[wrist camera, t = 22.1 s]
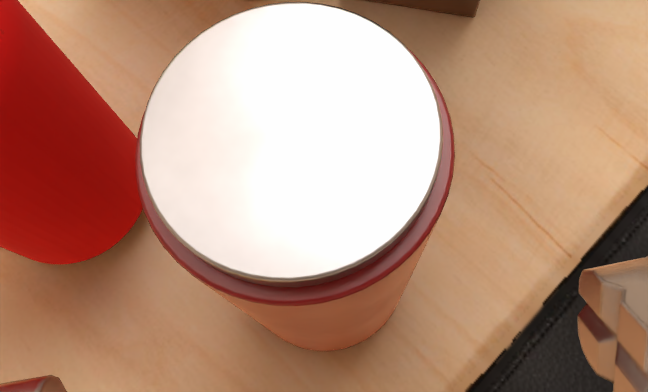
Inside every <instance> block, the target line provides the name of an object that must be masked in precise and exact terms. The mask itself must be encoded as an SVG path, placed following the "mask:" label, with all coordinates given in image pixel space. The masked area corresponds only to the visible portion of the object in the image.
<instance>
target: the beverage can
mask: <svg viewBox="0 0 648 392" xmlns="http://www.w3.org/2000/svg"><path fill="white" fill-rule="evenodd" d="M136 145H137V138H136V137H135V135H134V134H133V133H132V132H131V131H130V129H129V128H128V127H127V126H126V125H125V124H124V123H123V121H122V120H121V119H120V118H119V117H118V116H117V114H116V113H115V112H114V111H113V110H112V109H111V108H110V106H109V105H108V104H107V103H106V102H105V101H104V99H103V98H102V97H101V96H100V95H99V94H98V93H97V91H96V90H95V89H94V88H93V87H92V86H91V84H90V83H89V82H88V81H87V80H86V79H85V78H84V76H83V75H82V74H81V73H80V72H79V71H78V69H77V68H76V67H75V66H74V65H73V64H72V62H71V61H70V60H69V59H68V58H67V57H66V56H65V54H64V53H63V52H62V51H61V50H60V49H59V47H58V46H57V45H56V44H55V43H54V42H53V41H52V39H51V38H50V37H49V36H48V35H47V34H46V32H45V31H44V30H43V29H42V28H41V27H40V26H39V24H38V23H37V22H36V21H35V20H34V19H33V17H32V16H31V15H30V14H29V13H28V12H27V11H26V9H25V8H24V7H23V6H22V5H21V4H20V2H19V1H18V0H0V247H2V248H5V249H7V250H9V251H12V252H14V253H17V254H19V255H22V256H24V257H27V258H29V259H32V260H34V261H38V262H42V263H48V264H71V263H77V262H81V261H85V260H88V259H90V258H93V257H96V256H97V255H99V254H101V253H103V252H105V251H107V250H108V249H110V248H111V247H113V246H114V245H115V244H116V243H118V242H119V241H120V240H121V239H122V238H123V237H124V236H125V235H126V234H127V233H128V232H129V230H130V229H131V228H132V227H133V225H134V224H135V222H136V221H137V219H138V217H139V216H140V214H141V211H142V209H143V207H142V204H141V200H140V197H139V194H138V188H137V181H136V174H135V153H136Z"/></svg>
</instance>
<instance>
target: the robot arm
mask: <svg viewBox="0 0 648 392" xmlns="http://www.w3.org/2000/svg"><path fill="white" fill-rule="evenodd" d="M579 293H580V295H581V296H582V297H583V298H584V299H585V301H586V302H587V304H586V305H585V307H584V308H583V309H582V311H581V312H580V313H579V315H578V334H579V338H580V342H581V346H582V350H583V352H584V354H585V356H586V358H587V360H588V362H589V364H590V365H591V367H592V368H593V370H594V371H595V373H596V374H597V375H598V376H600V377H602V378H604V379H606V380H608V381H610V382H612V383H614V387H613V392H648V256H647V257H646V258H640V259H635V260H630V261H625V262H620V263H615V264H610V265H606V266H601V267H596V268H591V269H586V270H583V271H582V273H581V276H580V278H579ZM0 392H67V391H66V389H65V388H64V386H63V384H62V382H61V380H60V379H59V378H58V377H55V376H52V375H48V376H42V377H36V378H31V379H25V380H19V381H14V382H8V383H2V384H0Z"/></svg>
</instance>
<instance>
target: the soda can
mask: <svg viewBox="0 0 648 392" xmlns="http://www.w3.org/2000/svg"><path fill="white" fill-rule="evenodd" d="M454 160H455V147H454V133H453V128H452V123H451V118H450V115H449V112H448V109H447V106H446V103H445V100H444V98H443V96H442V94H441V92H440V90H439V88H438V86H437V84H436V82H435V80H434V79H433V78H432V76H431V75H430V73H429V72H428V70H427V69H426V67H425V66H424V65H423V64H422V63H421V61H420V60H419V59H418V58H417V57H416V56H415V55H414V54H413V53H412V52H411V51H410V50H409V49H408V48H407V47H406V46H405V45H404V44H403V43H402V42H401V41H399V40H398V39H397V38H396V37H395V36H394V35H392V34H391V33H390V32H389V31H387V30H386V29H384V28H383V27H381V26H380V25H378V24H377V23H375V22H373V21H371V20H369V19H367V18H365V17H363V16H361V15H359V14H357V13H354V12H351V11H348V10H345V9H342V8H339V7H334V6H330V5H325V4H318V3H308V2H285V3H277V4H268V5H264V6H260V7H255V8H251V9H248V10H245V11H242V12H240V13H237V14H234V15H232V16H230V17H228V18H226V19H223V20H221V21H219V22H217V23H216V24H214V25H212V26H211V27H209V28H208V29H206V30H205V31H203V32H201V33H200V34H199V35H198V36H196V37H195V38H194V39H193V40H191V41H190V42H189V43H188V44H187V45H186V46H185V47H184V48H183V49H182V50H181V51H180V52H179V53H178V54H177V55H176V56H175V57H174V58H173V59H172V61H171V62H170V63H169V65H168V66H167V67H166V69H165V70H164V71H163V73H162V75H161V76H160V78H159V80H158V81H157V83H156V85H155V87H154V89H153V91H152V93H151V96H150V98H149V100H148V103H147V106H146V110H145V112H144V115H143V118H142V121H141V125H140V129H139V132H138V138H137V145H136V153H135V174H136V181H137V188H138V194H139V197H140V200H141V204H142V207H143V210H144V213H145V215H146V217H147V219H148V222H149V224H150V226H151V228H152V230H153V232H154V233H155V235H156V236H157V238H158V239H159V241H160V242H161V244H162V245H163V247H164V248H165V249H166V250H167V251H168V252H169V254H170V255H171V256H172V257H173V258H174V259H175V260H176V262H177V263H179V264H180V265H181V266H182V267H183V268H185V269H186V270H187V271H188V272H189V273H190V274H192V275H193V276H194V277H196V278H197V279H198V280H200V281H201V282H203V283H204V284H205V285H207V286H208V287H210V288H211V289H212V290H214V291H215V292H217V293H218V294H219V295H221V296H222V297H224V298H225V299H226V300H228V301H229V302H231V303H232V304H233V305H235V306H236V307H238V308H239V309H240V310H242V311H243V312H245V313H246V314H247V315H249V316H250V317H252V318H253V319H254V320H256V321H257V322H259V323H260V324H261V325H263V326H264V327H266V328H267V329H268V330H270V331H271V332H273V333H274V334H275V335H277V336H278V337H280V338H281V339H283V340H285V341H286V342H288V343H291V344H293V345H295V346H298V347H301V348H304V349H309V350H315V351H332V350H340V349H344V348H348V347H351V346H353V345H356V344H358V343H360V342H362V341H364V340H366V339H367V338H369V337H370V336H372V335H373V334H374V333H376V332H377V331H378V330H379V329H380V328H381V327H382V326H383V325H384V324H385V323H386V322H387V320H388V319H389V318H390V316H391V315H392V313H393V311H394V310H395V308H396V306H397V304H398V302H399V300H400V298H401V296H402V294H403V292H404V290H405V287H406V285H407V283H408V281H409V279H410V277H411V275H412V273H413V271H414V269H415V267H416V265H417V262H418V260H419V258H420V256H421V254H422V252H423V250H424V248H425V246H426V244H427V242H428V239H429V237H430V235H431V233H432V231H433V229H434V227H435V225H436V223H437V221H438V219H439V217H440V214H441V212H442V209H443V207H444V204H445V202H446V199H447V197H448V194H449V190H450V186H451V182H452V177H453V170H454Z"/></svg>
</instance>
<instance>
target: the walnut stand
mask: <svg viewBox="0 0 648 392" xmlns="http://www.w3.org/2000/svg"><path fill="white" fill-rule="evenodd" d="M369 1H375V2H382V3H388V4H394V5H401V6H407V7H413V8H419V9H426V10H432V11H438V12H444V13H451V14H457V15H463V16H470V17H474V16H475V15H476V12H477V9H478V5H479V2H480V0H369Z"/></svg>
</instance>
